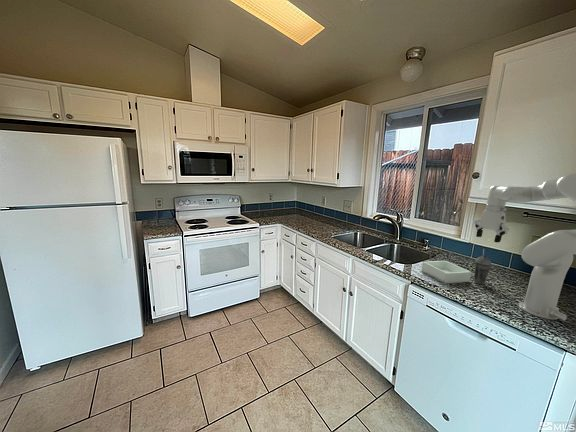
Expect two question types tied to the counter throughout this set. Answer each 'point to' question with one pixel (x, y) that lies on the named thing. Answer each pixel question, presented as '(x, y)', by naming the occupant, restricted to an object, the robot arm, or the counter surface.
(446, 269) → the bin
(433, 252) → the counter surface
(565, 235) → the robot arm
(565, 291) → the counter surface
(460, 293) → the counter surface
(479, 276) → the beverage cup
